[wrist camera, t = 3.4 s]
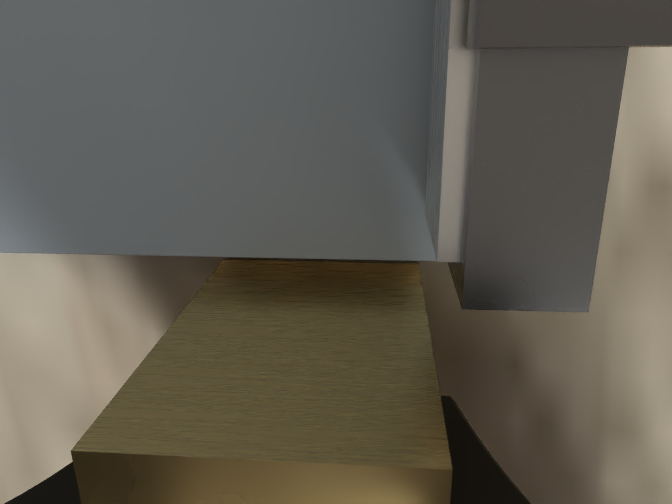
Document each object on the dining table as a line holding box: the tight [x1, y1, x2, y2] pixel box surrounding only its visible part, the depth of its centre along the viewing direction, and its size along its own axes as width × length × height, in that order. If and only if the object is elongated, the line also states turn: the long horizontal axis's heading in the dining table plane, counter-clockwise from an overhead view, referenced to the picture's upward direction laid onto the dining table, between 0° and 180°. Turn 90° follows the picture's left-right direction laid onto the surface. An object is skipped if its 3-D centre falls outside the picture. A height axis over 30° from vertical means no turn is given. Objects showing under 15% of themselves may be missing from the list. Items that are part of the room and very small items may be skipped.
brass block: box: [71, 260, 453, 504], centre depth 10 cm, size 4×6×6 cm, turn 1°
